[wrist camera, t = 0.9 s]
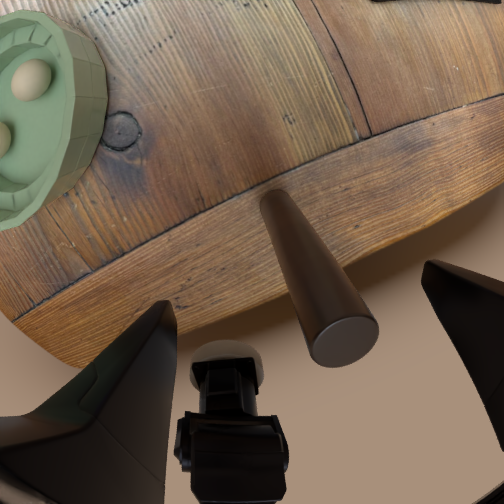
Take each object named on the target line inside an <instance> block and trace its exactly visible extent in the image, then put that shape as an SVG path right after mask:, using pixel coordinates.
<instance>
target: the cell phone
mask: <svg viewBox="0 0 504 504" xmlns="http://www.w3.org/2000/svg"><path fill="white" fill-rule="evenodd" d="M372 1H374V2H385V1H396V0H372ZM467 1H478V2H486V3H494V4H501V3H502V2H501V0H467Z"/></svg>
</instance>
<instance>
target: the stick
mask: <svg viewBox="0 0 504 504" xmlns="http://www.w3.org/2000/svg"><path fill="white" fill-rule="evenodd" d="M260 210H261V213H262V216H263V219H264V222H265V224H266V227H267V230H268V233H269V236H270V238H271V241H272V244H273V247H274V250H275V253H276V256H277V258H278V261H279V264H280V267H281V270H282V273H283V276H284V279H285V282H286V284H287V287H288V290H289V293H290V296H291V299H292V302H293V305H294V308H295V311H296V314H297V317H298V320H299V323H300V326H301V329H302V332H303V335H304V338H305V341H306V344H307V347H308V350H309V353H310V356H311V358H312V359H313V360H314V361H315V362H316V363H317V364H319V365H321V366H324V367H329V368H337V367H343V366H346V365H349V364H352V363H354V362H356V361H357V360H359V359H361V358H362V357H363V356H365V355H366V354H367V353H368V352H369V351H370V350H371V349H372V348H373V346H374V345H375V343H376V341H377V339H378V335H379V326H378V323H377V321H376V319H375V318H374V316H373V314H372V313H371V311H370V310H369V308H368V307H367V305H366V304H365V302H364V301H363V299H362V298H361V296H360V294H359V293H358V291H357V290H356V289H355V287H354V285H353V284H352V283H351V281H350V280H349V278H348V277H347V275H346V274H345V272H344V271H343V269H342V268H341V266H340V265H339V263H338V262H337V261H336V259H335V258H334V256H333V255H332V253H331V252H330V251H329V249H328V248H327V246H326V245H325V244H324V242H323V241H322V239H321V238H320V237H319V235H318V234H317V232H316V231H315V230H314V228H313V227H312V226H311V224H310V223H309V221H308V220H307V219H306V217H305V216H304V215H303V213H302V212H301V211H300V209H299V208H298V207H297V205H296V204H295V203H294V201H293V200H292V199H291V197H290V196H289V195H288V194H287V193H286V192H284V191H281V190H273V191H270V192H268V193H266V194H265V195H264V196H263V198H262V200H261V202H260Z"/></svg>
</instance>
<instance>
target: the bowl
mask: <svg viewBox="0 0 504 504" xmlns="http://www.w3.org/2000/svg"><path fill="white" fill-rule="evenodd" d="M31 59H41V60H44V61H45V62H46V63H47V64H48V65H49V67H50V69H51V81H50V84H49V86H48V88H47V90H46V91H45V92H44V93H43V94H42V95H41V96H40V97H39V98H37V99H35V100H33V101H28V102H25V101H20V100H18V99H17V98H16V97H15V96H14V95H13V93H12V90H11V81H12V77H13V75H14V73H15V71H16V70H17V68H18V67H19V66H20V65H21V64H23V63H24V62H26V61H28V60H31ZM107 101H108V96H107V86H106V75H105V68H104V64H103V62H102V60H101V58H100V56H99V53H98V51H97V49H96V46H95V44H94V42H93V41H92V40H90V39H89V38H88V37H87V36H86V35H85V34H84V33H83V32H81V31H80V30H79V29H78V28H77V27H75V26H72V25H70V24H68V23H66V22H64V21H62V20H59V19H57V18H55V17H53V16H50V15H48V14H46V13H43V12H37V11H30V10H19V11H15V12H12V13H9V14H7V15H4V16H1V17H0V122H2V123H4V124H5V125H6V126H7V127H8V128H9V130H10V134H11V142H10V146H9V149H8V151H7V152H6V154H5V155H4V156H3V157H2V158H1V159H0V231H3V230H7V229H10V228H14V227H17V226H20V225H22V224H23V223H24V222H26V221H27V220H28V219H30V218H31V217H33V216H34V215H36V214H37V213H39V212H40V211H42V210H43V209H45V208H46V207H48V206H49V205H51V204H52V203H54V202H55V201H56V200H57V199H59V198H60V197H61V196H63V195H64V194H65V193H67V192H68V191H69V190H71V189H72V188H73V187H74V185H75V184H76V183H77V181H78V180H79V178H80V177H81V176H82V174H83V173H84V171H85V170H86V169H87V167H88V166H89V165H90V163H91V160H92V158H93V155H94V152H95V150H96V147H97V145H98V142H99V140H100V138H101V135H102V132H103V126H104V119H105V113H106V107H107Z"/></svg>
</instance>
